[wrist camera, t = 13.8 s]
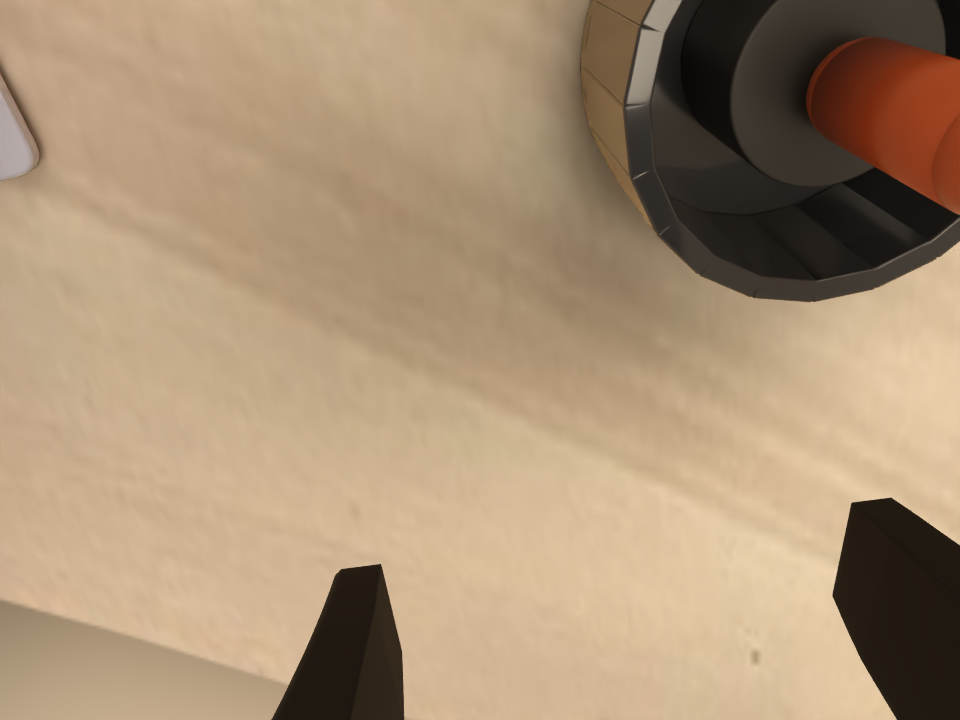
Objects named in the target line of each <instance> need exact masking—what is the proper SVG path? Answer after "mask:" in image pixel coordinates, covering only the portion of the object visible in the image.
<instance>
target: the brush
mask: <svg viewBox="0 0 960 720" xmlns="http://www.w3.org/2000/svg"><path fill="white" fill-rule="evenodd" d="M681 76H682V84H683V90H684V94H685V97H686V100H687V103H688V105H689V107H690V110H691V111H692V113H693V114H694V116H695V118H696V119H697V120H698V122H699V123H700V124H701V125H702V126H703V127H704V128H705V129H706V130H707V131H708V132H709V133H711V134H712V135H713V136H714V137H716V138H717V139H718V140H720V141H721V142H722V143H723V144H725V145H726V146H727V147H728V148H730V149H731V150H732V151H734V152H735V153H736V154H737V155H739V156H740V157H741V158H743V159H744V160H745V161H746V162H748V163H749V164H750V165H751V166H753V167H754V168H755V169H757V170H758V171H759V172H760V173H762V174H764V175H765V176H767V177H768V178H770V179H772V180H775V181H777V182H779V183H782V184H786V185H790V186H795V187H805V188H807V187H823V186H829V185H834V184H838V183H841V182H845V181H848V180H850V179H852V178H855V177H857V176H860V175H861V174H863V173H865V172H867V171H869V170H871V169H872V168H874V167H876V168H878V169H879V170H881V171H883V172H884V173H886V174H888V175H890V176H891V177H893V178H895V179H897V180H898V181H900V182H902V183H903V184H905V185H907V186H909V187H910V188H912V189H914V190H916V191H917V192H919V193H921V194H923V195H924V196H926V197H928V198H929V199H931V200H933V201H935V202H936V203H938V204H940V205H942V206H943V207H945V208H947V209H948V210H950V211H952V212H954V213H956V214H959V215H960V60H959V59H956V58H952V57H949V56H946V35H945V27H944V22H943V18H942V14H941V12H940V9H939V7H938V4H937V2H936V0H704V2H703V3H702V5H701V6H700V8H699V9H698V11H697V13H696V15H695V17H694V19H693V21H692V23H691V25H690V28H689V31H688V33H687V36H686V40H685V44H684V48H683V54H682V62H681Z"/></svg>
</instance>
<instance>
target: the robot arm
mask: <svg viewBox="0 0 960 720" xmlns="http://www.w3.org/2000/svg"><path fill="white" fill-rule="evenodd" d="M38 162H39V151H38V147H37V144H36V142H35V140H34V139H33V137H32V135H31V133H30V131H29V129H28V127H27V125H26V123H25V121H24V119H23V117H22V115H21V113H20V111H19V109H18V107H17V105H16V103H15V101H14V99H13V97H12V95H11V94H10V92H9V90H8V88H7V86H6V84H5V82H4V80H3V78H2V76H1V74H0V181H2V180H6V179H10V178H15V177H19V176H22V175H24V174H26V173H28V172H30V171H31V170H32V169H34V168H35V166H36V165H37V163H38ZM832 596H833V598H834V600H835V603H836V605H837V607H838V610H839V612H840V614H841V617H842V619H843V621H844V623H845V626H846V628H847V630H848V633H849V635H850V637H851V639H852V641H853V643H854V645H855V647H856V650H857V652H858V654H859V656H860V658H861V660H862V662H863V663H864V665H865V667H866V669H867V670H868V672H869V674H870V675H871V677H872V679H873V681H874V682H875V684H876V686H877V687H878V689H879V691H880V692H881V694H882V696H883V697H884V699H885V701H886V702H887V704H888V706H889V707H890V709H891V711H892V712H893V714H894V715H895V717H896V719H897V720H960V545H958V544H957V543H956V542H954V541H953V540H951V539H950V538H948V537H947V536H946V535H944V534H943V533H941V532H940V531H939V530H937V529H936V528H934V527H933V526H932V525H930V524H929V523H927V522H926V521H924V520H923V519H922V518H920V517H919V516H917V515H916V514H914V513H913V512H912V511H910V510H909V509H907V508H906V507H904V506H903V505H901V504H900V503H898V502H897V501H895V500H894V499H892V498H885V499H877V500H869V501H862V502H854V503H851V508H850V513H849V518H848V522H847V527H846V532H845V537H844V542H843V547H842V551H841V556H840V561H839V566H838V571H837V576H836V580H835V585H834V590H833V595H832ZM272 720H404V694H403V664H402V650H401V645H400V641H399V637H398V633H397V629H396V625H395V620H394V616H393V612H392V608H391V604H390V599H389V595H388V591H387V587H386V583H385V578H384V574H383V570H382V566H381V564H378V565H370V566H362V567H355V568H347V569H341V570H340V571H339V572H338V573H337V574H336V575H335V577H334V580H333V583H332V586H331V589H330V592H329V594H328V597H327V600H326V602H325V605H324V608H323V610H322V613H321V615H320V618H319V620H318V622H317V625H316V627H315V629H314V632H313V634H312V636H311V639H310V641H309V643H308V646H307V648H306V650H305V652H304V655H303V657H302V659H301V661H300V663H299V665H298V667H297V669H296V671H295V673H294V676H293V678H292V680H291V682H290V684H289V686H288V688H287V690H286V692H285V694H284V697H283V699H282V701H281V702H280V704H279V706H278V708H277V710H276V712H275V714H274V716H273V718H272Z"/></svg>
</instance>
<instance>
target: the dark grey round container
mask: <svg viewBox="0 0 960 720" xmlns="http://www.w3.org/2000/svg"><path fill="white" fill-rule="evenodd" d="M703 2H704V0H591V4H590V7H589V10H588V13H587V18H586V23H585V29H584V34H583V39H582V51H581V67H580V69H581V86H582V96H583V101H584V106H585V111H586V116H587V119H588V122H589V125H590V128H591V131H592V134H593V137H594V140H595V142H596V144H597V146H598V148H599V150H600V152H601V154H602V156H603V158H604V159H605V161H606V162H607V164H608V166H609V168H610V170H611V172H612V174H613V176H614V177H615V179H616V180H617V181H618V183H619V184H620V185H621V187H622V188H623V190H624V191H625V192H626V194H627V195H628V196H629V198H630V199H631V200H632V202H633V203H634V205H635V206H636V207H637V209H638V210H639V211H640V213H641V214H642V216H643V217H644V218H645V220H646V221H647V222H648V224H649V225H650V227H651V228H652V229H653V231H654V232H655V233H656V235H657V236H658V237H659V238H660V239H661V240H662V241H663V242H664V243H665V244H666V245H667V246H668V247H669V248H670V249H671V250H672V251H673V252H674V253H675V254H677V255H678V256H679V257H680V258H681V259H682V260H683V261H684V262H685V263H686V264H687V265H688V266H689V267H690V268H691V269H692V270H693V271H694V272H695V273H696V274H699V275H700V276H701V277H704V278H706V279H708V280H711V281H713V282H716V283H718V284H720V285H723V286H725V287H727V288H730V289H732V290H734V291H737V292H739V293H741V294H744V295H746V296H748V297H753V298H761V299H774V300H788V301H801V302H811V301H812V302H816V301H821V300H826V299H830V298H835V297H840V296H845V295H849V294H854V293H859V292H864V291H868V290H873V289H874V288H878V287H880V286H882V285H884V284H886V283H888V282H890V281H892V280H895V279H897V278H899V277H901V276H903V275H905V274H907V273H909V272H911V271H913V270H915V269H917V268H919V267H921V266H923V265H925V264H928V263H930V262H932V261H934V260H935V259H937V257H941V256H942V255H943V254H944V253H946V252H947V251H948V250H949V249H951V248H952V247H953V246H954V245H956V244H957V243H958V242H959V241H960V215H959V214H956V213H954V212H952V211H950V210H948V209H947V208H945V207H943V206H942V205H940V204H938V203H936V202H935V201H933V200H931V199H929V198H928V197H926V196H924V195H923V194H921V193H919V192H917V191H916V190H914V189H912V188H910V187H909V186H907V185H905V184H903V183H902V182H900V181H898V180H897V179H895V178H893V177H891V176H890V175H888V174H886V173H884V172H883V171H881V170H879V169H878V168H876V167H874V168H872V169H871V170H869V171H867V172H865V173H863V174H861V175H860V176H857V177H855V178H852V179H850V180H848V181H845V182H841V183H838V184H834V185H829V186H823V187H807V188H805V187H795V186H790V185H786V184H782V183H779V182H777V181H775V180H772V179H770V178H768V177H767V176H765V175H764V174H762V173H760V172H759V171H758V170H757V169H755V168H754V167H753V166H751V165H750V164H749V163H748V162H746V161H745V160H744V159H743V158H741V157H740V156H739V155H737V154H736V153H735V152H734V151H732V150H731V149H730V148H728V147H727V146H726V145H725V144H723V143H722V142H721V141H720V140H718V139H717V138H716V137H714V136H713V135H712V134H711V133H709V132H708V131H707V130H706V129H705V128H704V127H703V126H702V125H701V124H700V123H699V122H698V120H697V119H696V118H695V116H694V114H693V113H692V111H691V110H690V107H689V105H688V103H687V100H686V97H685V94H684V90H683V84H682V76H681V62H682V54H683V48H684V44H685V40H686V36H687V33H688V31H689V28H690V25H691V23H692V21H693V19H694V17H695V15H696V13H697V11H698V9H699V8H700V6H701V5H702V3H703ZM936 2H937V4H938V7H939V9H940V12H941V14H942V18H943V22H944V27H945V35H946V56H949V57H952V58H956V59H959V60H960V0H936Z"/></svg>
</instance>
